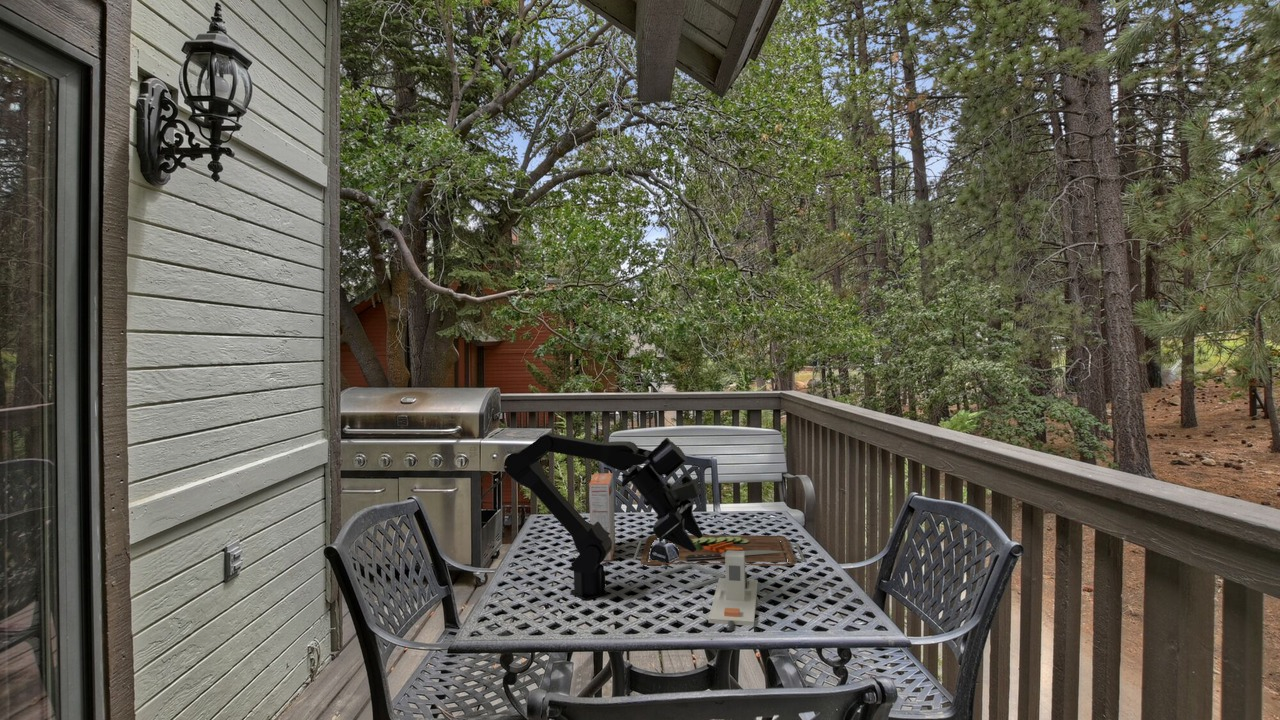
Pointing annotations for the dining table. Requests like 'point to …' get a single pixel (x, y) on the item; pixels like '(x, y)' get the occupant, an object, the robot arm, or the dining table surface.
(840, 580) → the dining table surface
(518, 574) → the dining table surface
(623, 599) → the dining table surface
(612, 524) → the cracker box
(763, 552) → the chopping board
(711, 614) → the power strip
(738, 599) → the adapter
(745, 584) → the black plug
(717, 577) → the tray
